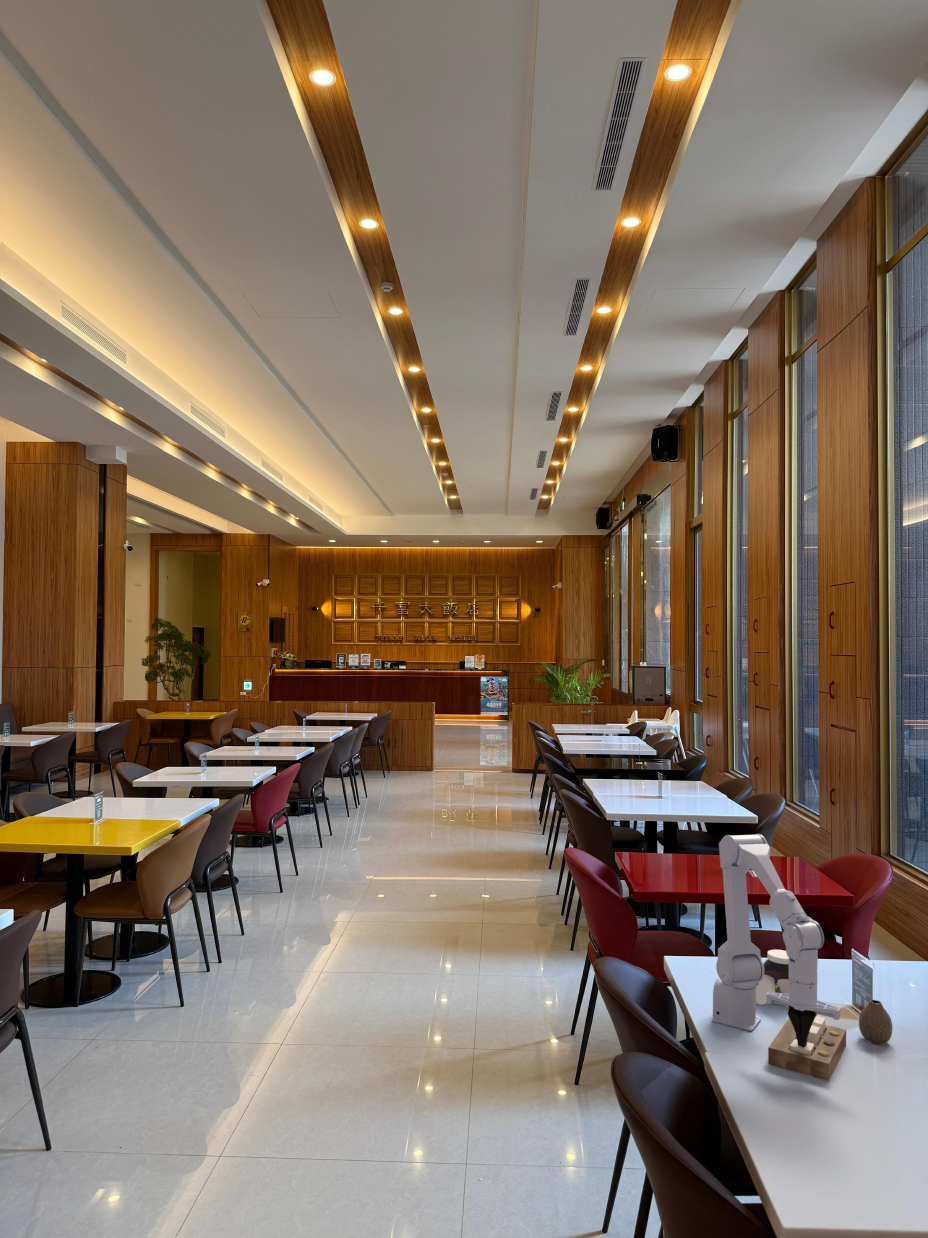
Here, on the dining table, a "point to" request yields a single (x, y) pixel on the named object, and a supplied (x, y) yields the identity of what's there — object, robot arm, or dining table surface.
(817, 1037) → the button middle
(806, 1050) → the button
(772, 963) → the spread jar
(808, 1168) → the dining table surface
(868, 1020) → the vase
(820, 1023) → the button
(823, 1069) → the button board
